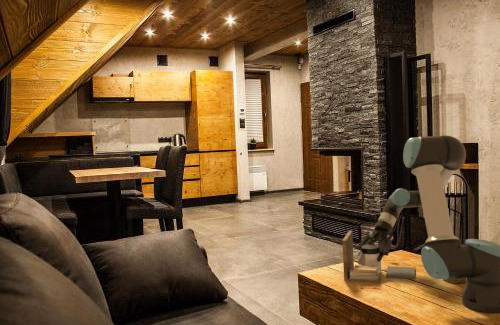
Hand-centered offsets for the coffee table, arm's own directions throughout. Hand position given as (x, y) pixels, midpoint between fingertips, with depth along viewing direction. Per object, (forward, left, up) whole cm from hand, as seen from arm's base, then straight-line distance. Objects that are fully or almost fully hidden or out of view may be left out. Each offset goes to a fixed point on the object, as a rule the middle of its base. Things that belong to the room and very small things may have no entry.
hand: (366, 264), depth 196 cm
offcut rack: (-2, +1, -4) cm, 5 cm away
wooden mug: (-3, -38, -4) cm, 38 cm away
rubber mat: (+4, -15, -4) cm, 16 cm away
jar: (+3, -2, -4) cm, 5 cm away
